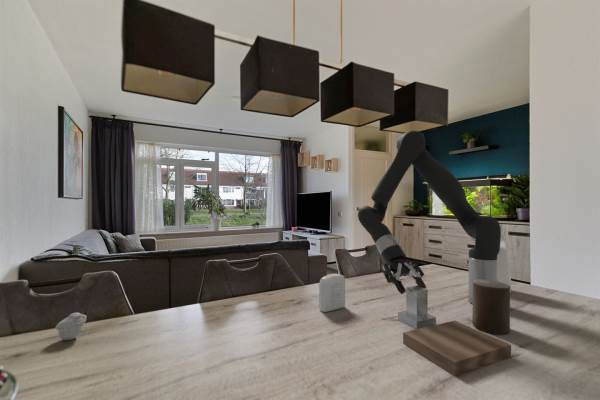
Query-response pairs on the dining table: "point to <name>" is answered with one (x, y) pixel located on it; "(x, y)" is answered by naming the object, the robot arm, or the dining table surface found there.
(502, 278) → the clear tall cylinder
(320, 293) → the photo printer
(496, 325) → the pillar candle
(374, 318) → the dining table surface
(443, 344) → the walnut plinth
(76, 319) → the frog figurine
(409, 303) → the block
